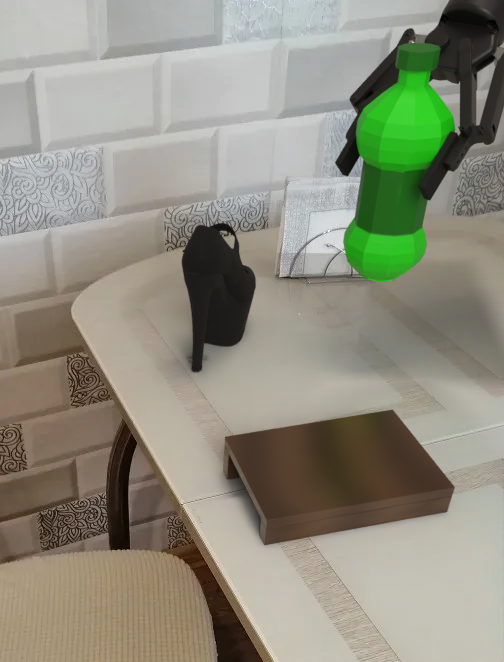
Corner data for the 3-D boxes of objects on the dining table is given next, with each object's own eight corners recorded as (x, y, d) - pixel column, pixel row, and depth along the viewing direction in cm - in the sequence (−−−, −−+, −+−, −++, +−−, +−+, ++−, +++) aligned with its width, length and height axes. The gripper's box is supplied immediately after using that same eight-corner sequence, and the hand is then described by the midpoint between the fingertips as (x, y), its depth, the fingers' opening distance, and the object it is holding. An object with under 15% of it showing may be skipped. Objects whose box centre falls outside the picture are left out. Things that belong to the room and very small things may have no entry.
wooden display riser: (385, 443, 94) (392, 409, 91) (444, 522, 84) (455, 487, 81) (222, 470, 91) (224, 436, 88) (263, 556, 81) (267, 520, 78)
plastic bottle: (413, 254, 103) (459, 35, 86) (427, 292, 95) (480, 59, 78) (334, 253, 104) (364, 36, 87) (341, 291, 96) (375, 60, 79)
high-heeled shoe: (262, 317, 117) (273, 181, 104) (217, 385, 105) (223, 239, 91) (211, 308, 120) (215, 174, 107) (161, 372, 107) (159, 229, 94)
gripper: (391, -37, 91) (289, 140, 93) (591, -17, 78) (465, 189, 80) (408, 9, 97) (312, 174, 100) (597, 35, 84) (480, 225, 86)
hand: (381, 181), depth 90 cm, fingers closed on plastic bottle, 10 cm apart
